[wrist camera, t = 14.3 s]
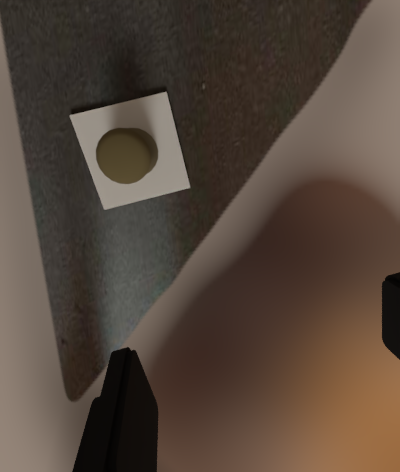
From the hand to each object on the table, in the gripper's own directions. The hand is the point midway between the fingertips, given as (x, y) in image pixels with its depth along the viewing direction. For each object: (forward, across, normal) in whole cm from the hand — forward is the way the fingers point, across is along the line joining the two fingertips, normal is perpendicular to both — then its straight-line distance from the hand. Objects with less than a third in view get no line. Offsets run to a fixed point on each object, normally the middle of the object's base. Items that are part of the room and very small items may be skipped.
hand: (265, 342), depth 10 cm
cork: (+30, +6, -7) cm, 31 cm away
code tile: (+30, +6, -7) cm, 32 cm away
